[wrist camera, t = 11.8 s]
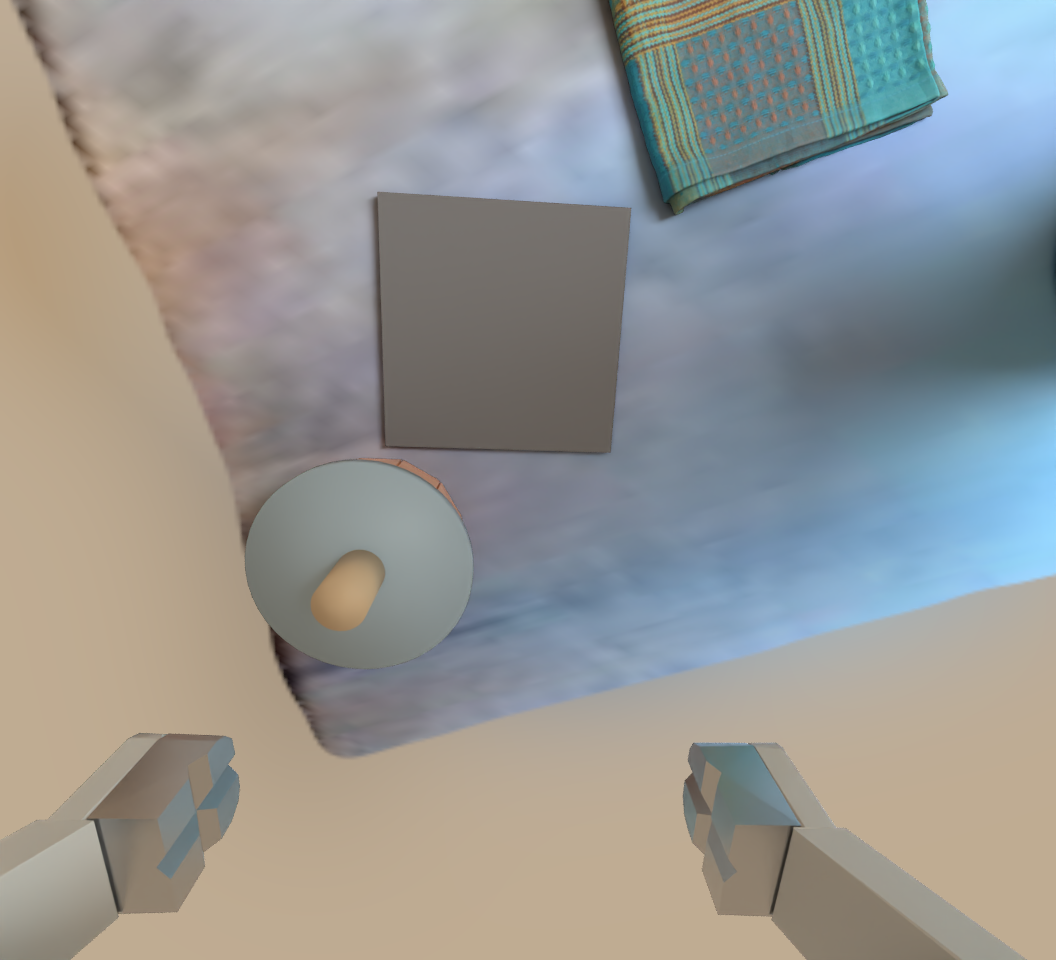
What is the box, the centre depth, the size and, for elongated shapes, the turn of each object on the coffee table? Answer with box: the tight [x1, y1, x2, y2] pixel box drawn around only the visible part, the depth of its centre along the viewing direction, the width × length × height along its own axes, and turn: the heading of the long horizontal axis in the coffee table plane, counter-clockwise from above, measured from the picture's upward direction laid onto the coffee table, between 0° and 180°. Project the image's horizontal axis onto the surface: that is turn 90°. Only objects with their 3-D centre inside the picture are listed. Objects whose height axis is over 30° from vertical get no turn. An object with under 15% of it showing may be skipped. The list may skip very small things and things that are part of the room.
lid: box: [245, 459, 474, 669], centre depth 27 cm, size 13×13×5 cm
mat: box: [377, 192, 631, 453], centre depth 31 cm, size 15×15×1 cm
